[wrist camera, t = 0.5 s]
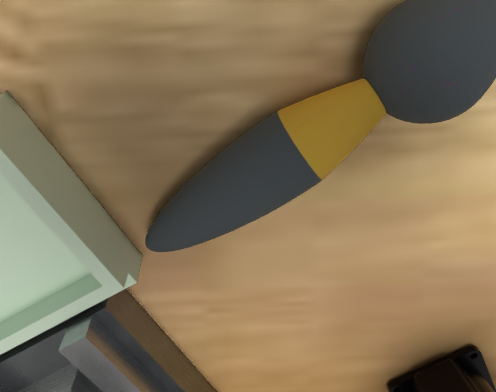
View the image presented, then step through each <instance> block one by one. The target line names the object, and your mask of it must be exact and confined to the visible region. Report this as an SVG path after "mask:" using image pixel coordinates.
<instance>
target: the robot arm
mask: <svg viewBox="0 0 496 392" xmlns="http://www.w3.org/2000/svg"><path fill="white" fill-rule="evenodd" d="M387 388H388V390H389V392H496V390H495V387H494V385H493V382H492V380H491V377H490V375H489V372H488V369H487V367H486V364H485V362H484V359H483V357H482V354H481V352H480V351H479V350H478V348H477V347H476V346H469V347H467V348H464V349H462V350H460V351H458V352H456V353H453V354H451V355H449V356H447V357H444V358H442V359H440V360H438V361H436V362H433V363H431V364H429V365H427V366H425V367H422V368H420V369H418V370H416V371H414V372H411V373H409V374H407V375H405V376H403V377H400V378H398V379H396V380H394V381H392V382H390V383H389V384H388V386H387Z"/></svg>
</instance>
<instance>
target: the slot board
mask: <svg viewBox="0 0 496 392" xmlns="http://www.w3.org/2000/svg"><path fill="white" fill-rule="evenodd" d="M71 363H72V364H73V365H74V366H75V367H76V368H78V369H79V370H80V371H81V372H82V373H83V374H84V375H85V376H86V377H87V378H88V379H90V380H91V381H92V382H93V383H94V384H95V385H96V386H97V387H98V388H99V389H100V390H102V391H103V392H216V390H215V389H214V388H213V387H212V386H211V385H210V384H209V382H208V381H207V380H206V379H205V378H204V377H203V376H202V375H201V373H200V372H199V371H198V370H197V369H196V368H195V367H194V366H193V364H192V363H191V362H190V361H189V360H188V359H187V358H186V357H185V355H184V354H183V353H182V352H181V351H180V350H179V349H178V348H177V346H176V345H175V344H174V343H173V342H172V341H171V340H170V339H169V337H168V336H167V335H166V334H165V333H164V332H163V331H162V329H161V328H160V327H159V326H158V325H157V324H156V323H155V322H154V320H153V319H152V318H151V317H150V316H149V315H148V314H147V313H146V311H145V310H144V309H143V308H142V307H141V306H140V305H139V304H138V302H137V301H136V300H135V299H134V298H133V297H132V296H131V295H130V293H129V292H128V291H127V290H126V289H124V290H122V291H120V292H118V293H116V294H114V295H113V296H111V297H109V298H107V299H105V300H103V301H101V302H99V303H97V304H96V305H94V306H92V307H90V308H88V309H86V310H84V311H82V312H80V313H78V314H77V315H75V316H73V317H71V318H69V319H67V320H65V321H63V322H61V323H60V324H58V325H56V326H54V327H52V328H50V329H48V330H46V331H44V332H42V333H41V334H39V335H37V336H35V337H33V338H31V339H29V340H27V341H25V342H24V343H22V344H20V345H18V346H16V347H14V348H12V349H10V350H8V351H6V352H5V353H3V354H1V355H0V392H18V390H20V389H22V388H24V387H26V386H28V385H30V384H32V383H34V382H36V381H38V380H40V379H42V378H44V377H46V376H48V375H50V374H52V373H54V372H56V371H58V370H60V369H61V368H63V367H65V366H67V365H69V364H71Z"/></svg>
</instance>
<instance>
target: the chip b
mask: <svg viewBox="0 0 496 392" xmlns="http://www.w3.org/2000/svg"><path fill="white" fill-rule="evenodd" d="M18 392H103V391H102V390H100V389H99V388H98V387H97V386H96V385H95V384H94V383H93V382H92V381H91V380H90V379H88V378H87V377H86V376H85V375H84V374H83V373H82V372H81V371H80V370H79V369H78V368H76V367H75V366H74V365H73V364H72V363H71V364H69V365H67V366H65V367H63V368H61V369H60V370H58V371H56V372H54V373H52V374H50V375H48V376H46V377H44V378H42V379H40V380H38V381H36V382H34V383H32V384H30V385H28V386H26V387H24V388H22V389H20V390H18Z"/></svg>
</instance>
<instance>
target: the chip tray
mask: <svg viewBox="0 0 496 392" xmlns="http://www.w3.org/2000/svg"><path fill="white" fill-rule="evenodd" d="M141 261H142V255H141V253H140V252H139V251H138V250H137V248H136V247H135V246H134V245H133V244H132V242H131V241H130V240H129V239H128V237H127V236H126V235H125V234H124V233H123V231H122V230H121V229H120V228H119V227H118V225H117V224H116V223H115V222H114V220H113V219H112V218H111V217H110V216H109V214H108V213H107V212H106V211H105V209H104V208H103V207H102V206H101V205H100V203H99V202H98V201H97V200H96V198H95V197H94V196H93V195H92V194H91V192H90V191H89V190H88V189H87V187H86V186H85V185H84V184H83V183H82V181H81V180H80V179H79V178H78V177H77V175H76V174H75V173H74V172H73V170H72V169H71V168H70V167H69V166H68V164H67V163H66V162H65V161H64V159H63V158H62V157H61V156H60V155H59V153H58V152H57V151H56V150H55V148H54V147H53V146H52V145H51V144H50V142H49V141H48V140H47V139H46V138H45V136H44V135H43V134H42V133H41V131H40V130H39V129H38V128H37V127H36V125H35V124H34V123H33V122H32V120H31V119H30V118H29V117H28V116H27V114H26V113H25V112H24V111H23V109H22V108H21V107H20V106H19V105H18V103H17V102H16V101H15V100H14V98H13V97H12V96H11V95H10V94H9V92H8V91H5V92H3V93H1V94H0V355H1V354H3V353H5V352H6V351H8V350H10V349H12V348H14V347H16V346H18V345H20V344H22V343H24V342H25V341H27V340H29V339H31V338H33V337H35V336H37V335H39V334H41V333H42V332H44V331H46V330H48V329H50V328H52V327H54V326H56V325H58V324H60V323H61V322H63V321H65V320H67V319H69V318H71V317H73V316H75V315H77V314H78V313H80V312H82V311H84V310H86V309H88V308H90V307H92V306H94V305H96V304H97V303H99V302H101V301H103V300H105V299H107V298H109V297H111V296H113V295H114V294H116V293H118V292H120V291H122V290H124V289H126V288H128V287H130V286H132V285H133V284H135V283H137V280H138V275H139V271H140V266H141Z"/></svg>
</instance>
